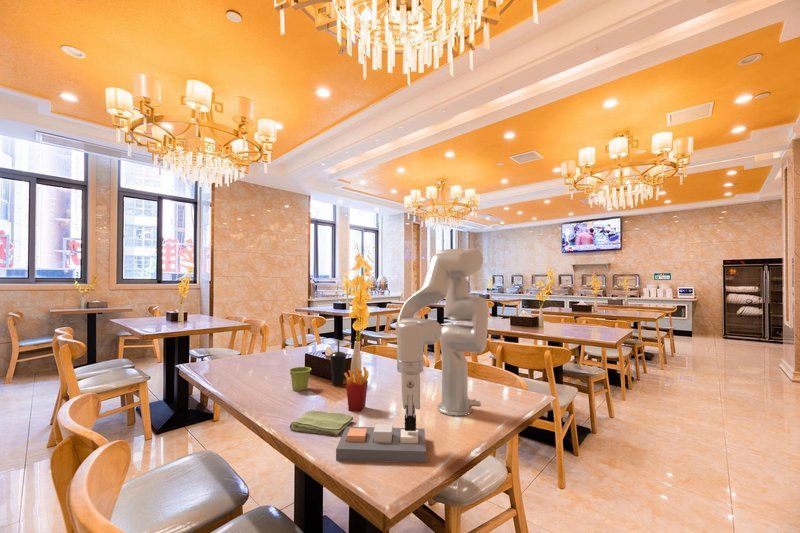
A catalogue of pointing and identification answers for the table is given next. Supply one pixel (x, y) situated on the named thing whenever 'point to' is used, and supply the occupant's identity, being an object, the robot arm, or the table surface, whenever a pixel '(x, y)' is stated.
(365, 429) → the terracotta key
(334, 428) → the washcloth
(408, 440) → the cream key
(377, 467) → the table surface
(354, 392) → the french fries
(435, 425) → the table surface
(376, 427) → the grey key
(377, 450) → the keypad base
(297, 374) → the plant pot
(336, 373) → the drinking cup
